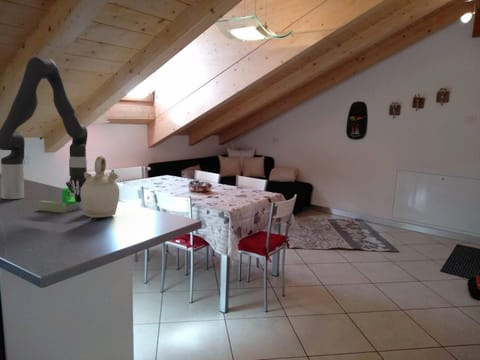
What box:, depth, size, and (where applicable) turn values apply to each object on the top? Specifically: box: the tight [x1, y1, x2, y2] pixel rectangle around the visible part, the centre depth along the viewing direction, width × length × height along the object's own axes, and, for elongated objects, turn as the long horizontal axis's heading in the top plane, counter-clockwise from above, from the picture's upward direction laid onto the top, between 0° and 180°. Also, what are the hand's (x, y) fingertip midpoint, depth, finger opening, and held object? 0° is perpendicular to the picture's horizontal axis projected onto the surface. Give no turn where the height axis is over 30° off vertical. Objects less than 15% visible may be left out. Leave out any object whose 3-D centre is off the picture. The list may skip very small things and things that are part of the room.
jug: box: [80, 155, 120, 218], centre depth 147 cm, size 15×16×25 cm
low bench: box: [38, 200, 79, 214], centre depth 155 cm, size 13×9×4 cm
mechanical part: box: [61, 187, 81, 205], centre depth 172 cm, size 12×6×8 cm, turn 6°
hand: (78, 202), depth 166 cm, fingers closed
